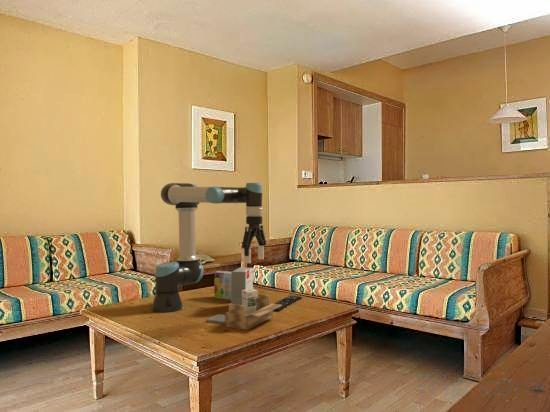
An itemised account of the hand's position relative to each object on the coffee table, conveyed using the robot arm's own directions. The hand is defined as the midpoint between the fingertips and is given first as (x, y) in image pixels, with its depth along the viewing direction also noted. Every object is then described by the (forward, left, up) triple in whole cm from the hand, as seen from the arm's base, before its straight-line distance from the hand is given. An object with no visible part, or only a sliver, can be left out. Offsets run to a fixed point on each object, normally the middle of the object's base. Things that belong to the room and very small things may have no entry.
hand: (254, 261), depth 205 cm
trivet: (-13, -9, -27) cm, 31 cm away
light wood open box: (+3, -5, -27) cm, 28 cm away
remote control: (0, +32, -28) cm, 43 cm away
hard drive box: (-16, +15, -27) cm, 35 cm away
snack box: (-32, +30, -27) cm, 52 cm away
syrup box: (0, -5, -27) cm, 28 cm away
